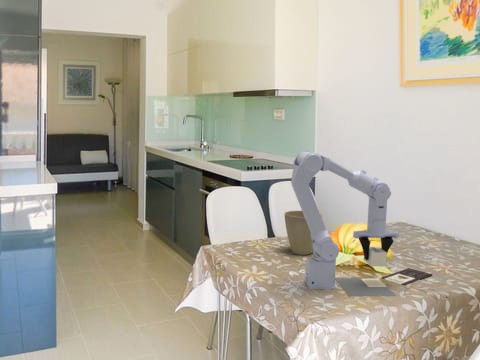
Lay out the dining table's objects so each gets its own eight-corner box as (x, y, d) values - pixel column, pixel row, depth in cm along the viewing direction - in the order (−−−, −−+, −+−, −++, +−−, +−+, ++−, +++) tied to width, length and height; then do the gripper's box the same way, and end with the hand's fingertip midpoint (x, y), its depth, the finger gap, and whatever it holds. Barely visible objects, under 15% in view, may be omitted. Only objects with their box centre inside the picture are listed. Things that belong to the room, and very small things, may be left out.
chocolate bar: (432, 274, 171) (404, 285, 159) (432, 276, 171) (404, 287, 159) (408, 268, 178) (380, 277, 166) (408, 270, 178) (380, 280, 166)
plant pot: (327, 255, 194) (329, 215, 192) (296, 259, 188) (297, 218, 186) (306, 246, 208) (308, 209, 205) (276, 249, 201) (277, 211, 199)
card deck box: (363, 260, 164) (364, 246, 163) (378, 259, 164) (378, 246, 163) (370, 266, 157) (371, 252, 156) (386, 266, 157) (386, 252, 157)
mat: (348, 297, 149) (348, 296, 148) (333, 279, 165) (333, 277, 165) (396, 297, 150) (396, 295, 150) (376, 278, 167) (376, 277, 167)
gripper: (359, 221, 154) (356, 263, 156) (403, 221, 155) (401, 262, 157) (352, 216, 161) (350, 256, 163) (394, 216, 162) (392, 256, 164)
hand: (374, 259), depth 160 cm, fingers closed on card deck box, 5 cm apart
